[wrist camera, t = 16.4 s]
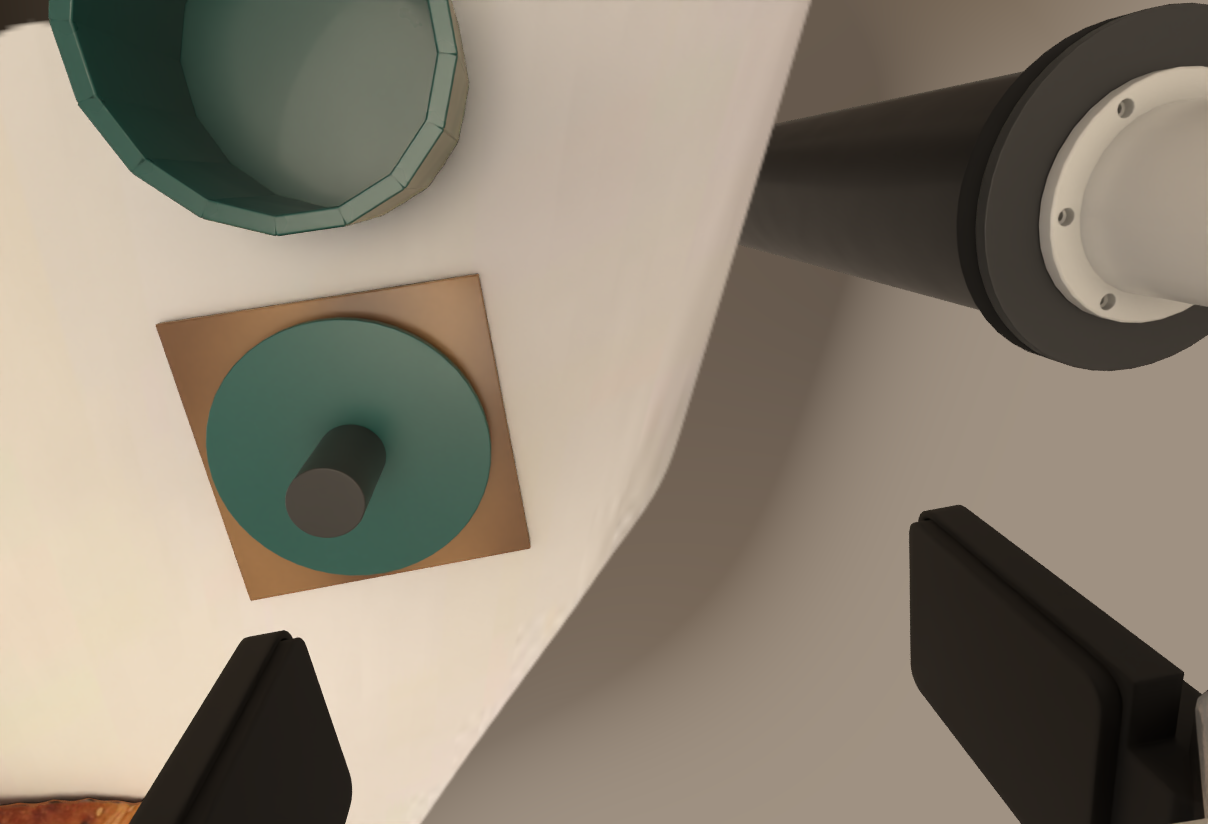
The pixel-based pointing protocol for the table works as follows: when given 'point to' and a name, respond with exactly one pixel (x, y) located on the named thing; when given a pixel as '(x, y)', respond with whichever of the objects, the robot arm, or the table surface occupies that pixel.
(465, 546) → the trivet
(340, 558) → the tin lid
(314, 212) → the enamel tin
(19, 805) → the bread slice
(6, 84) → the table surface
